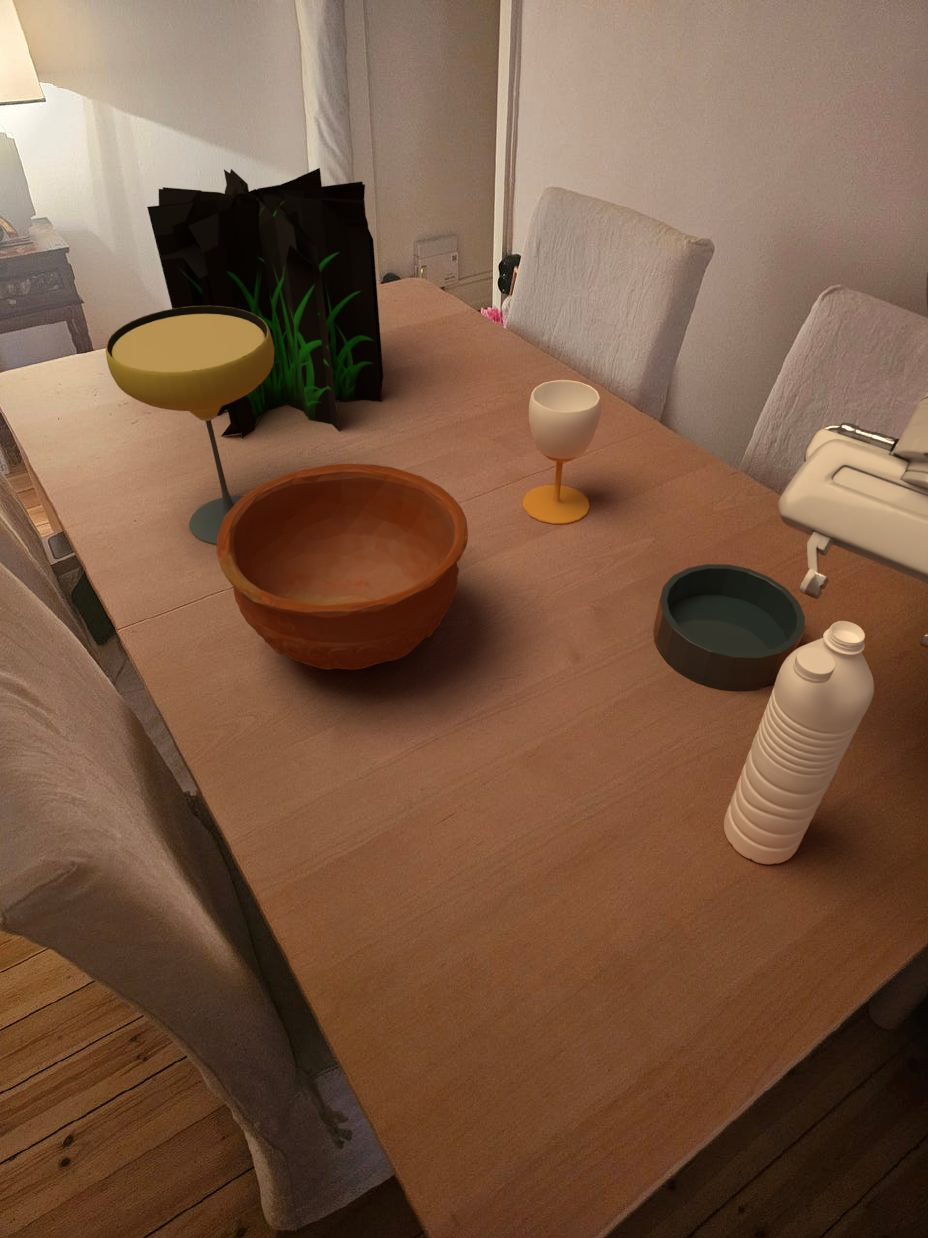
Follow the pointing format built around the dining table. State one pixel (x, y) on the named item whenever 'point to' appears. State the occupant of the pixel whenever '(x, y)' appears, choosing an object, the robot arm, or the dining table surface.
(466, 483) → the dining table surface
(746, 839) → the water bottle
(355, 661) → the bowl
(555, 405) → the cup
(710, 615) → the holder
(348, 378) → the decorative plant
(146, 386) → the cocktail glass
